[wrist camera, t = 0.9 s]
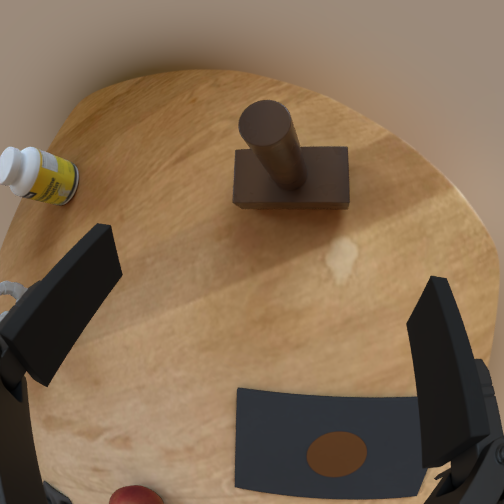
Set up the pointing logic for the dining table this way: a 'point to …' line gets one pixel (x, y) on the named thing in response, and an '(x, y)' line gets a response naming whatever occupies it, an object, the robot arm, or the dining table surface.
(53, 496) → the cloth
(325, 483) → the stain mat
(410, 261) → the dining table surface
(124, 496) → the apple
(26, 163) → the pill bottle
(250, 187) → the scrub brush
